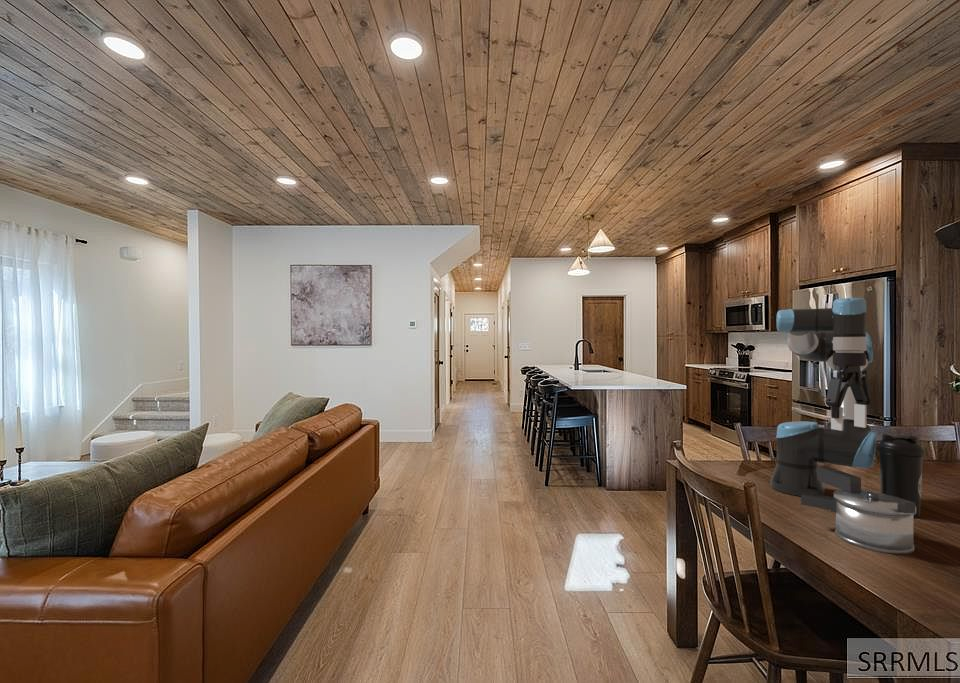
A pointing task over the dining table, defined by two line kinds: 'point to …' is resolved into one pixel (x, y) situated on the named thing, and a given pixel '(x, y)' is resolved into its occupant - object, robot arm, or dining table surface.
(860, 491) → the lid
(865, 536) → the pot
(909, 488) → the water bottle
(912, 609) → the dining table surface
